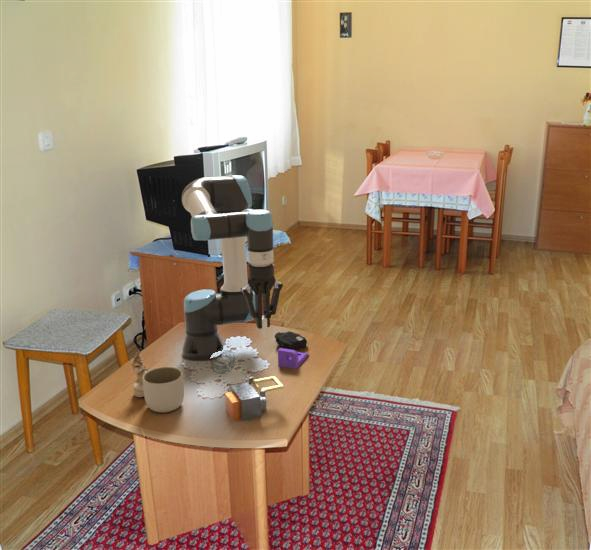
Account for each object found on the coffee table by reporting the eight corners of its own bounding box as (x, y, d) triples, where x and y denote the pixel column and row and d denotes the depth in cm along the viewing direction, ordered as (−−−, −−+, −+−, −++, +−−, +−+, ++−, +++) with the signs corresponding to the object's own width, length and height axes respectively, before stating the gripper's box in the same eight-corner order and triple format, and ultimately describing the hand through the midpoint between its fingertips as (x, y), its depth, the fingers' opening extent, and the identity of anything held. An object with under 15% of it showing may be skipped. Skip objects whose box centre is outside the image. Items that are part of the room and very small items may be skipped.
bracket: (296, 370, 230) (295, 352, 228) (278, 367, 233) (277, 350, 231) (308, 357, 241) (308, 340, 239) (291, 354, 243) (291, 337, 241)
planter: (149, 420, 199) (146, 387, 196) (141, 402, 210) (138, 371, 207) (189, 411, 203) (187, 379, 200) (180, 394, 214) (177, 363, 211)
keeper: (250, 379, 205) (274, 375, 208) (250, 382, 205) (274, 378, 208) (259, 390, 198) (283, 385, 201) (259, 393, 198) (283, 388, 201)
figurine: (160, 396, 213) (156, 353, 209) (137, 401, 210) (133, 358, 206) (153, 387, 219) (149, 346, 215) (131, 392, 216) (127, 350, 212)
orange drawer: (260, 402, 208) (259, 385, 206) (268, 412, 202) (267, 394, 200) (226, 410, 203) (225, 392, 202) (233, 420, 197) (232, 402, 196)
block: (231, 405, 206) (230, 381, 204) (253, 400, 209) (252, 376, 206) (242, 421, 197) (241, 395, 194) (266, 415, 199) (265, 390, 197)
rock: (295, 339, 254) (295, 325, 252) (308, 348, 247) (309, 334, 245) (273, 346, 249) (273, 332, 247) (286, 355, 242) (286, 341, 240)
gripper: (244, 269, 187) (247, 345, 194) (286, 263, 192) (288, 337, 199) (235, 262, 193) (239, 336, 200) (276, 257, 198) (278, 329, 205)
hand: (263, 337), depth 200 cm, fingers closed
